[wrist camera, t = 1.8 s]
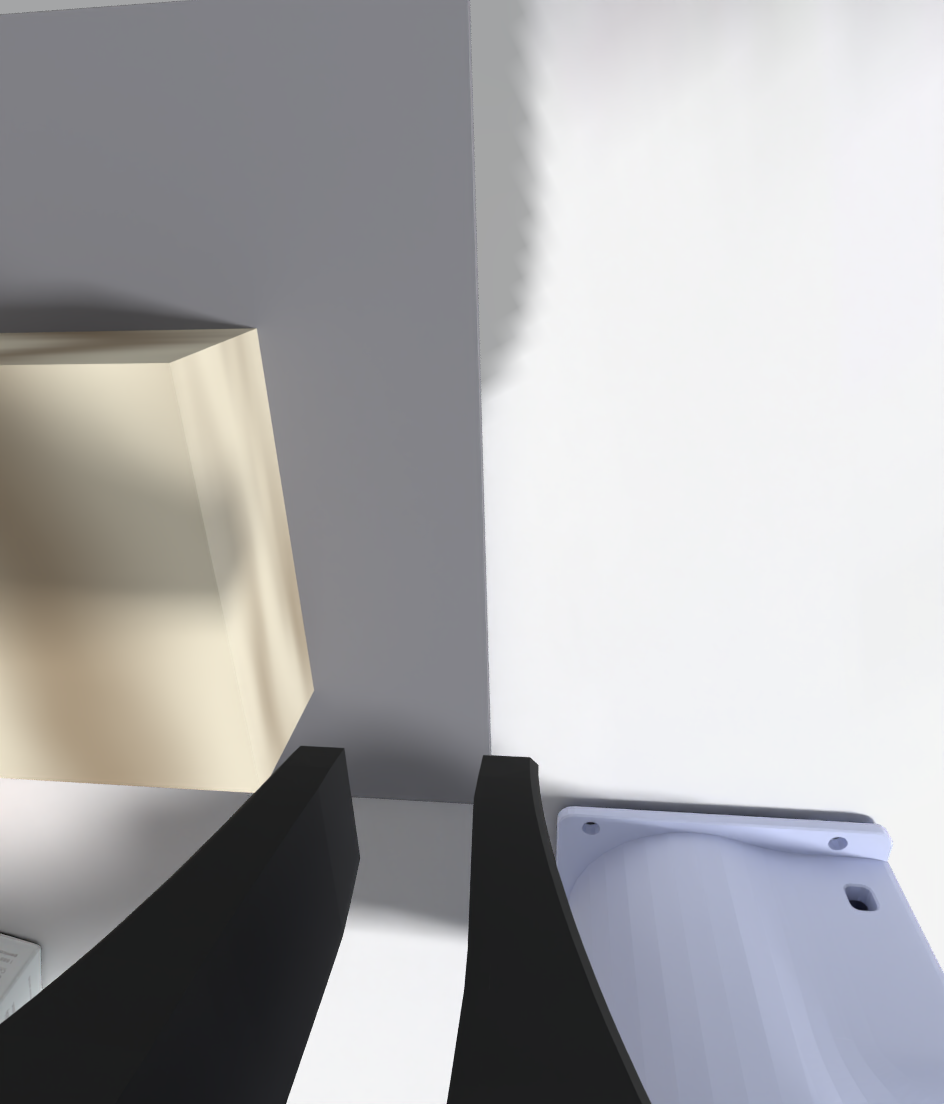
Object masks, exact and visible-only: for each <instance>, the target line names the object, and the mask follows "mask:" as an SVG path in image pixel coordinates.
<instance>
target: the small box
mask: <svg viewBox="0 0 944 1104" xmlns="http://www.w3.org/2000/svg"><path fill="white" fill-rule="evenodd" d="M41 991H42V976H41V947H40V946H39V945H37V944H34V943H31V942H28V941H24V940H21V939H18V938H15V937H11V936H7V935H3V934H0V1024H1V1023H2V1022H3V1021H4V1020H6V1019H7V1018H8V1017H10V1016H11V1015H12V1014H13V1013H15V1012H16V1011H17V1010H18V1009H20V1008H21V1007H22V1006H23V1005H25V1004H26V1003H27V1002H28V1001H30V1000H31V999H32V998H33V997H35V996H36V995H37V994H38V993H39V992H41Z"/></svg>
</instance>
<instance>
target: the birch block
mask: <svg viewBox="0 0 944 1104" xmlns="http://www.w3.org/2000/svg"><path fill="white" fill-rule="evenodd" d="M313 692H314V687H313V680H312V674H311V668H310V661H309V655H308V649H307V643H306V636H305V630H304V624H303V617H302V611H301V605H300V598H299V592H298V586H297V579H296V573H295V567H294V561H293V554H292V548H291V542H290V535H289V529H288V523H287V516H286V510H285V504H284V497H283V491H282V485H281V478H280V472H279V466H278V460H277V453H276V447H275V441H274V434H273V428H272V422H271V415H270V409H269V403H268V396H267V390H266V384H265V377H264V371H263V365H262V359H261V352H260V346H259V340H258V333H257V328H247V329H194V330H140V331H87V332H33V333H0V778H10V779H27V780H44V781H61V782H78V783H94V784H111V785H128V786H145V787H162V788H179V789H196V790H213V791H229V792H246V793H255V792H256V791H257V790H258V789H259V788H260V787H261V785H262V784H263V783H264V782H265V781H266V780H267V779H268V778H269V777H270V776H271V774H272V772H273V770H274V768H275V766H276V764H277V762H278V760H279V758H280V756H281V754H282V753H283V751H284V749H285V747H286V745H287V743H288V741H289V739H290V737H291V735H292V733H293V731H294V729H295V727H296V725H297V723H298V721H299V719H300V717H301V715H302V713H303V711H304V709H305V707H306V705H307V703H308V701H309V699H310V698H311V696H312V694H313Z"/></svg>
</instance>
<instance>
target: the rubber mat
mask: <svg viewBox="0 0 944 1104" xmlns="http://www.w3.org/2000/svg"><path fill="white" fill-rule="evenodd" d="M470 22H471V20H470V0H187V1H173V2H161V3H147V4H134V5H120V6H107V7H93V8H79V9H66V10H52V11H39V12H26V13H14V14H13V13H12V14H0V333H33V332H87V331H140V330H194V329H247V328H257V333H258V340H259V346H260V352H261V359H262V365H263V371H264V377H265V384H266V390H267V396H268V403H269V409H270V415H271V422H272V428H273V434H274V441H275V447H276V453H277V460H278V466H279V472H280V478H281V485H282V491H283V497H284V504H285V510H286V516H287V523H288V529H289V535H290V542H291V548H292V554H293V561H294V567H295V573H296V579H297V586H298V592H299V598H300V605H301V611H302V617H303V624H304V630H305V636H306V643H307V649H308V655H309V661H310V668H311V674H312V680H313V687H314V692H313V694H312V696H311V698H310V699H309V701H308V703H307V705H306V707H305V709H304V711H303V713H302V715H301V717H300V719H299V721H298V723H297V725H296V727H295V729H294V731H293V733H292V735H291V737H290V739H289V741H288V743H287V745H286V747H285V749H284V751H283V753H282V754H281V756H280V758H279V760H278V762H277V764H276V766H275V768H274V770H273V772H272V774H273V773H274V772H275V771H276V770H277V769H278V768H279V767H280V766H281V764H282V763H283V762H284V761H285V760H286V759H287V758H288V757H289V756H290V755H291V754H292V753H293V752H294V751H295V750H296V749H298V748H299V747H300V746H316V747H336V748H345V755H346V762H347V770H348V777H349V784H350V791H351V797H363V798H380V799H397V800H414V801H431V802H448V803H465V804H474V794H475V789H476V784H477V779H478V775H479V770H480V766H481V762H482V757H483V755H491V734H490V698H489V662H488V627H487V591H486V555H485V519H484V484H483V448H482V412H481V377H480V342H479V305H478V269H477V234H476V199H475V162H474V127H473V92H472V91H473V90H472V56H471V23H470ZM272 774H271V775H272Z"/></svg>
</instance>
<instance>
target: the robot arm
mask: <svg viewBox="0 0 944 1104" xmlns="http://www.w3.org/2000/svg"><path fill="white" fill-rule="evenodd" d="M587 822H594V823H596V824H592V825H589V824H586V823H587ZM835 837H839V838H837V839H833V838H835ZM892 846H893V841H892V839H891V837H890V835H889V833H888V831H887V830H886V828H884V827H883V826H881V825H878V824H871V823H854V822H837V821H820V820H803V819H786V818H768V817H751V816H734V815H717V814H700V813H683V812H666V811H648V810H631V809H614V808H597V807H580V806H571V807H566V808H564V809H562V810H561V811H560V812H559V814H558V817H557V851H556V861H555V858H554V854H553V850H552V847H551V843H550V839H549V835H548V830H547V826H546V822H545V818H544V813H543V807H542V802H541V796H540V788H539V778H538V764H537V763H536V762H534V761H533V760H532V759H531V758H530V757H512V756H493V755H483V757H482V762H481V766H480V770H479V775H478V779H477V784H476V789H475V794H474V805H473V829H472V854H471V880H470V906H469V931H468V952H467V964H466V975H465V987H464V995H463V1001H462V1008H461V1014H460V1021H459V1028H458V1034H457V1041H456V1047H455V1054H454V1061H453V1067H452V1074H451V1080H450V1087H449V1093H448V1099H447V1104H944V973H943V971H942V969H941V967H940V965H939V963H938V961H937V959H936V957H935V955H934V953H933V951H932V949H931V947H930V945H929V943H928V941H927V939H926V937H925V935H924V933H923V931H922V929H921V927H920V925H919V923H918V921H917V919H916V917H915V915H914V913H913V911H912V909H911V907H910V905H909V903H908V901H907V899H906V897H905V895H904V893H903V891H902V889H901V887H900V885H899V883H898V881H897V879H896V877H895V875H894V873H893V871H892V869H891V867H890V865H889V863H888V859H889V856H890V852H891V849H892ZM359 861H360V854H359V847H358V840H357V833H356V826H355V819H354V812H353V805H352V798H351V791H350V784H349V777H348V770H347V762H346V755H345V748H336V747H316V746H300V747H299V748H298V749H296V750H295V751H294V752H293V753H292V754H291V755H290V756H289V757H288V758H287V759H286V760H285V761H284V762H283V763H282V764H281V766H280V767H279V768H278V769H277V770H276V771H275V772H274V773H273V774H272V775H271V776H270V777H269V778H268V779H267V780H266V781H265V782H264V783H263V784H262V785H261V787H260V788H259V789H258V790H257V791H256V792H255V793H254V794H253V795H252V796H251V797H250V798H249V799H248V800H247V801H246V802H245V803H244V804H243V805H242V806H241V807H240V808H239V809H238V810H237V811H236V813H235V814H234V815H233V816H232V817H231V818H230V819H229V820H228V821H227V822H226V823H225V824H224V825H223V826H222V827H221V828H220V829H219V830H218V831H217V832H216V833H215V834H214V835H213V836H212V837H211V838H210V839H209V840H208V841H207V842H206V843H205V844H204V845H203V846H202V847H201V848H200V849H199V850H198V851H197V852H196V853H195V854H194V855H193V856H192V857H191V858H190V859H189V860H188V861H187V862H186V863H185V864H184V865H183V866H182V867H181V868H180V869H179V870H178V871H176V872H175V873H174V874H173V875H172V876H171V877H170V878H169V879H168V880H167V881H166V882H165V883H164V884H163V885H162V886H161V887H160V888H158V889H157V890H156V891H155V892H154V893H153V894H152V895H151V896H150V897H149V898H148V899H146V900H145V901H144V902H143V903H142V904H141V905H140V906H139V907H138V908H137V909H136V910H134V911H133V912H132V913H131V914H130V915H129V916H128V917H127V918H126V919H125V920H124V921H122V922H121V923H120V924H119V925H118V926H117V927H116V928H115V929H114V930H113V931H112V932H110V933H109V934H108V935H107V936H106V937H105V938H104V939H103V940H101V941H100V942H99V943H98V944H97V945H96V946H94V947H93V948H92V949H91V950H90V951H89V952H88V953H86V954H85V955H84V956H83V957H82V958H81V959H79V960H78V961H77V962H76V963H75V964H74V965H72V966H71V967H70V968H69V969H68V970H66V971H65V972H64V973H63V974H62V975H60V976H59V977H58V978H57V979H56V980H54V981H53V982H52V983H51V984H49V985H48V986H47V987H46V988H44V989H43V990H42V991H41V992H39V993H38V994H37V995H36V996H35V997H33V998H32V999H31V1000H30V1001H28V1002H27V1003H26V1004H25V1005H23V1006H22V1007H21V1008H20V1009H18V1010H17V1011H16V1012H15V1013H13V1014H12V1015H11V1016H10V1017H8V1018H7V1019H6V1020H4V1021H3V1022H2V1023H1V1024H0V1104H286V1102H287V1099H288V1096H289V1093H290V1091H291V1088H292V1085H293V1082H294V1079H295V1076H296V1073H297V1070H298V1067H299V1064H300V1061H301V1058H302V1055H303V1052H304V1050H305V1047H306V1044H307V1041H308V1038H309V1035H310V1032H311V1029H312V1026H313V1023H314V1020H315V1017H316V1014H317V1012H318V1009H319V1006H320V1003H321V1000H322V997H323V994H324V991H325V988H326V985H327V982H328V979H329V976H330V973H331V970H332V967H333V964H334V961H335V958H336V955H337V952H338V949H339V946H340V943H341V940H342V937H343V933H344V929H345V924H346V920H347V916H348V911H349V907H350V903H351V898H352V894H353V889H354V884H355V880H356V875H357V870H358V865H359Z"/></svg>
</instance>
